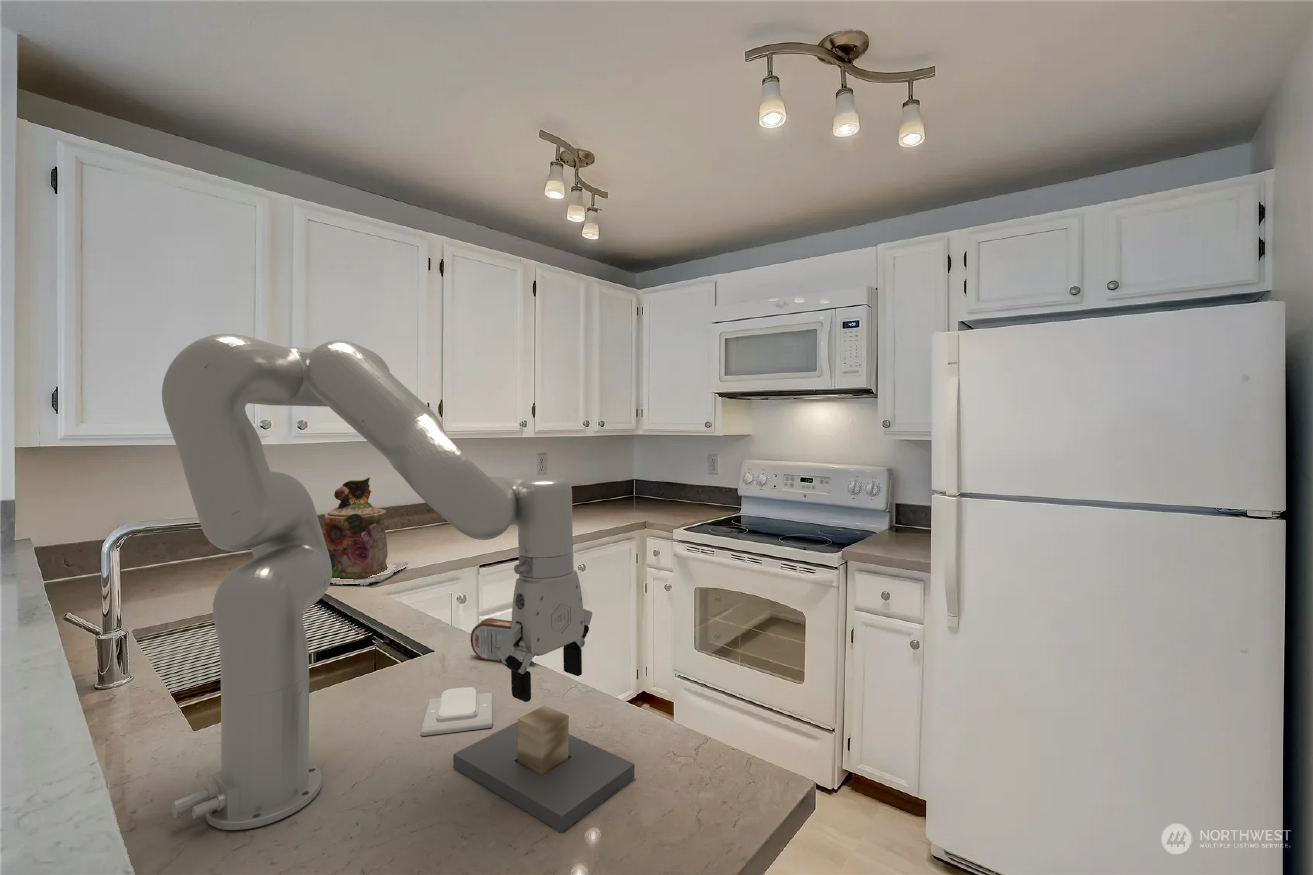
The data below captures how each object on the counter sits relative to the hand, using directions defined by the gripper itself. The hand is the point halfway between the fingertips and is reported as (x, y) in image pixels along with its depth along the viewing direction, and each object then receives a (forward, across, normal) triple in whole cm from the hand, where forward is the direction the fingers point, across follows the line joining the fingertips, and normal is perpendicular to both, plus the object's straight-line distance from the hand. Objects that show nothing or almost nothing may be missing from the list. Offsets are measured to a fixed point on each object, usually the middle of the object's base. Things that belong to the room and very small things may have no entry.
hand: (548, 685), depth 83 cm
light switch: (+13, +2, +25) cm, 28 cm away
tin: (+12, +21, +37) cm, 44 cm away
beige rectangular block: (+12, -1, +1) cm, 12 cm away
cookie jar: (+11, +36, +129) cm, 134 cm away
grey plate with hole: (+12, -1, +1) cm, 12 cm away
